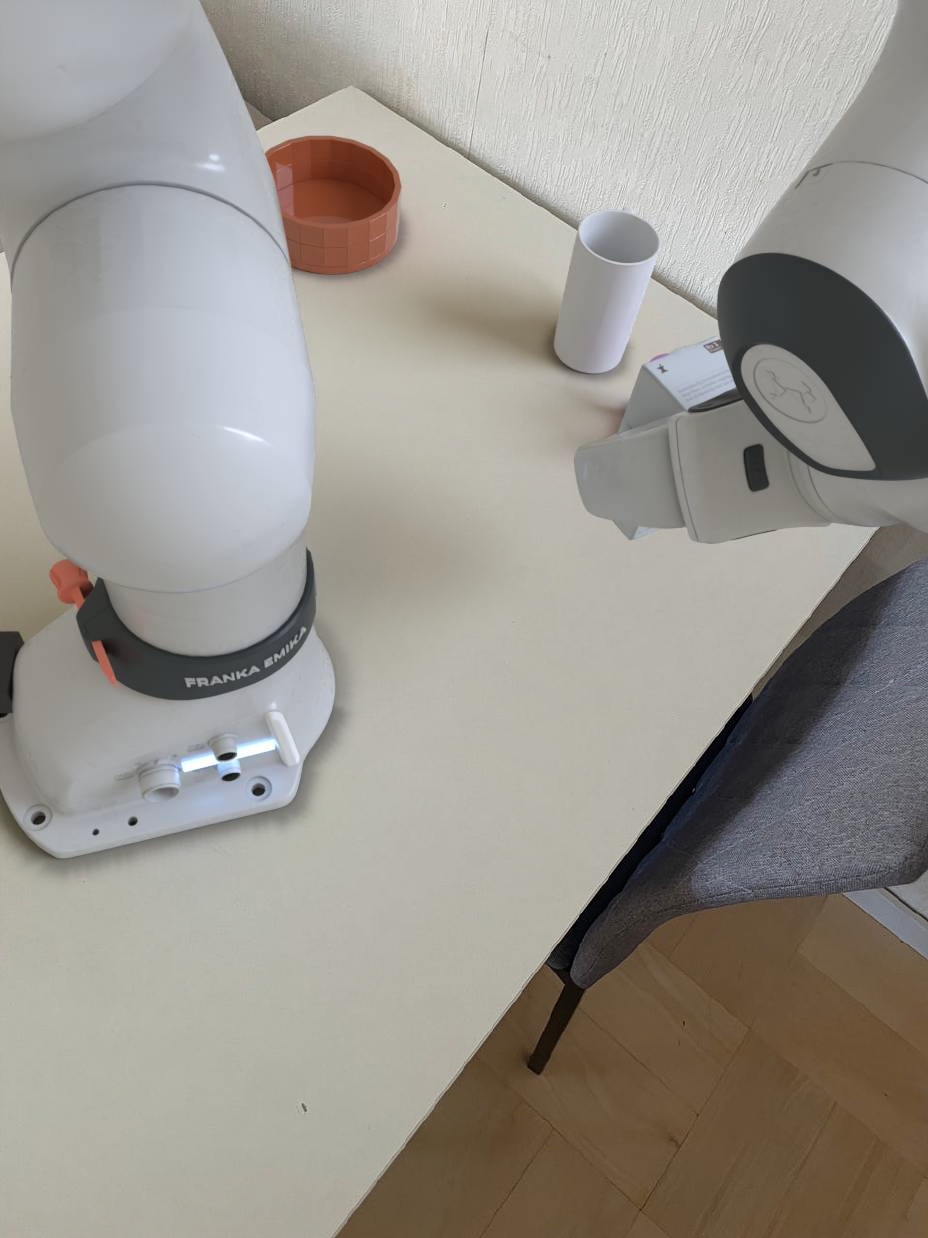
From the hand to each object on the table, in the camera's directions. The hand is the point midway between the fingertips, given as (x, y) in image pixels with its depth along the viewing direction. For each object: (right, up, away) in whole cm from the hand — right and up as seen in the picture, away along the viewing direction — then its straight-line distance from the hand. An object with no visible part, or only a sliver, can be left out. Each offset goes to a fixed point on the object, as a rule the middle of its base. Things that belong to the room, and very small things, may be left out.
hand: (667, 429), depth 63 cm
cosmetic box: (0, -4, +5) cm, 7 cm away
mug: (-1, +14, +29) cm, 32 cm away
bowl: (-26, +25, +33) cm, 48 cm away
